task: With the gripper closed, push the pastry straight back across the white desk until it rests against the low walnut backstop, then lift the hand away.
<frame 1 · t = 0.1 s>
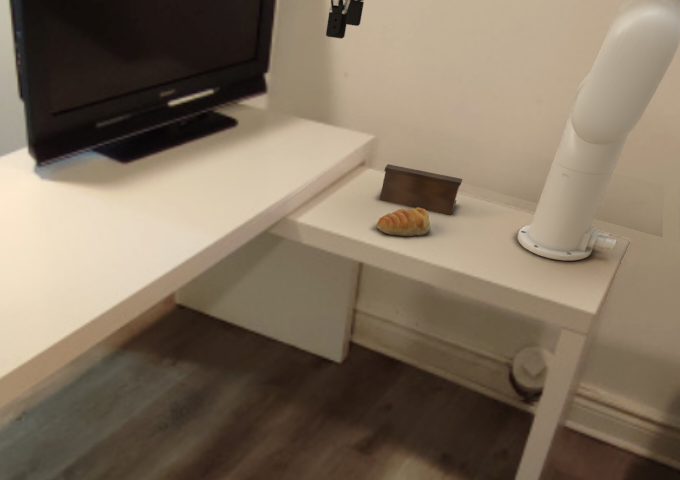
hand: (343, 30, 142), 31 cm above the table, tool pointing down, fingers open, 9 cm apart
pastry: (403, 230, 149), on the table
backstop: (415, 205, 157), on the table
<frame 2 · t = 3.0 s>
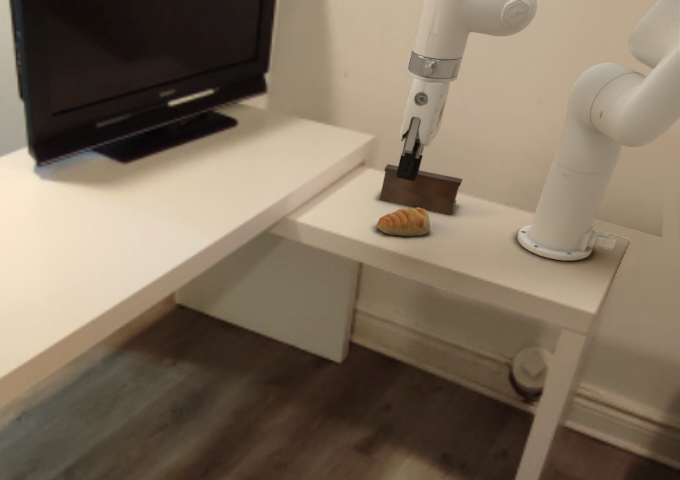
hand: (406, 177, 134), 14 cm above the table, tool pointing down, fingers closed
nothing on the table moved.
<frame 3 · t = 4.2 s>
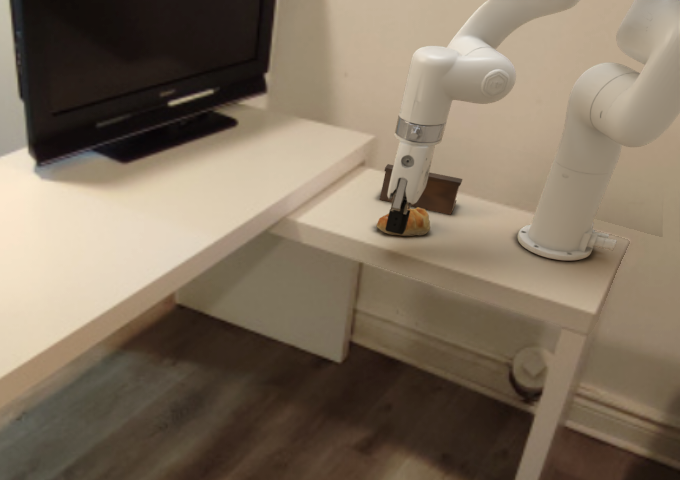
hand: (395, 230, 140), 4 cm above the table, tool pointing down, fingers closed
nothing on the table moved.
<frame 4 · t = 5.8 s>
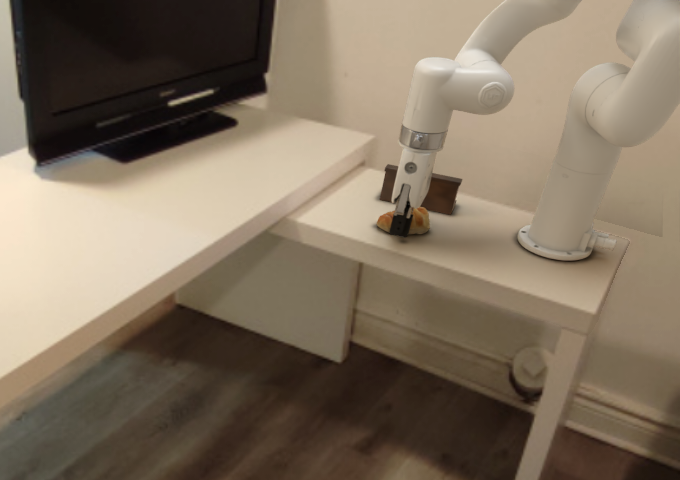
hand: (398, 233, 145), 1 cm above the table, tool pointing down, fingers closed
pastry: (404, 229, 150), on the table, touching gripper
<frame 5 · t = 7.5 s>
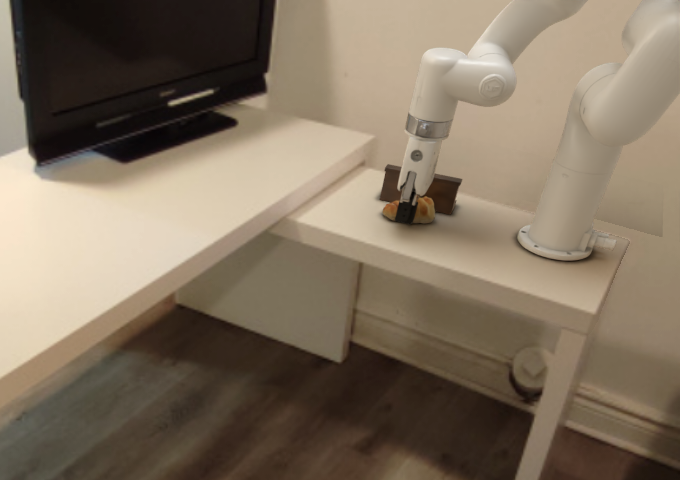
hand: (403, 221, 149), 1 cm above the table, tool pointing down, fingers closed
pastry: (409, 218, 153), on the table, touching gripper
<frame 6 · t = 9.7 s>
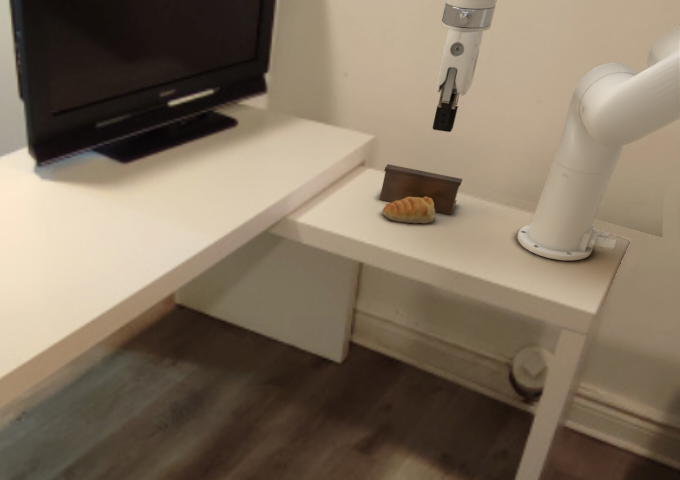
hand: (442, 129, 138), 19 cm above the table, tool pointing down, fingers closed
pastry: (409, 218, 153), on the table
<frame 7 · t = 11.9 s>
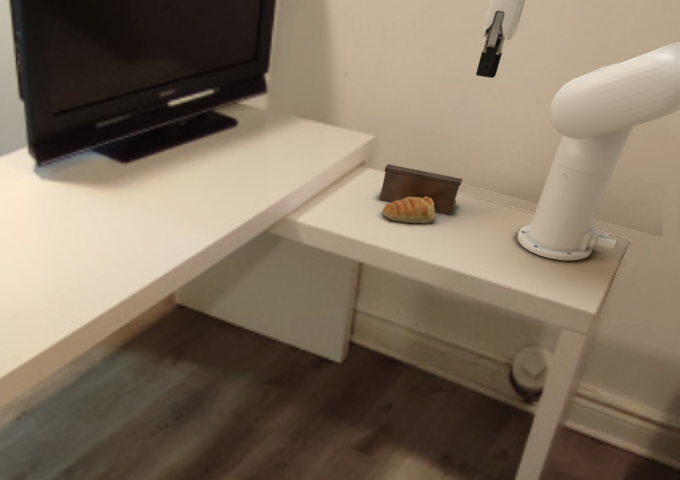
hand: (485, 75, 142), 25 cm above the table, tool pointing down, fingers closed
nothing on the table moved.
at the end: pastry 0.6 cm from the target spot, on the table; pastry moved 5.8 cm from its start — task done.
